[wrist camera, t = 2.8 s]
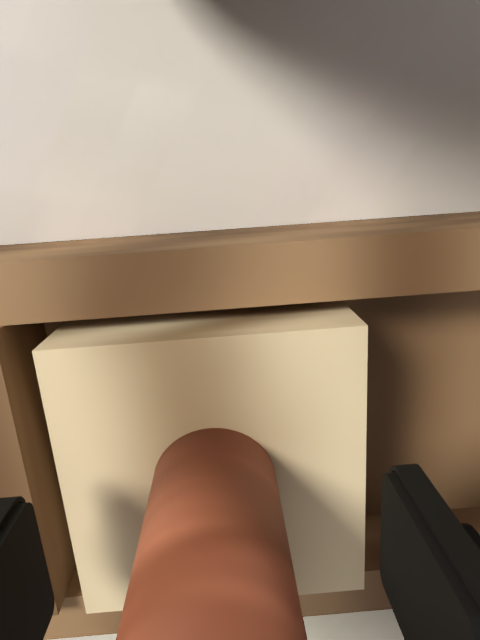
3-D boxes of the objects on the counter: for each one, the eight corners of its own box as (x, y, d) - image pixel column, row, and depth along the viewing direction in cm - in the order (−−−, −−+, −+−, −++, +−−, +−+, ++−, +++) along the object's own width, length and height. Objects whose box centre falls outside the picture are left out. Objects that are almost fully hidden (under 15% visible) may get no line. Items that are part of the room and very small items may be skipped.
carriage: (335, 294, 14) (600, 545, 4) (337, 513, 16) (511, 1003, 7) (73, 314, 14) (-277, 621, 4) (111, 532, 16) (-54, 1064, 6)
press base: (749, 192, 16) (1049, 196, 10) (677, 487, 19) (872, 615, 14) (-7, 245, 15) (-143, 282, 10) (57, 540, 19) (-15, 696, 13)
